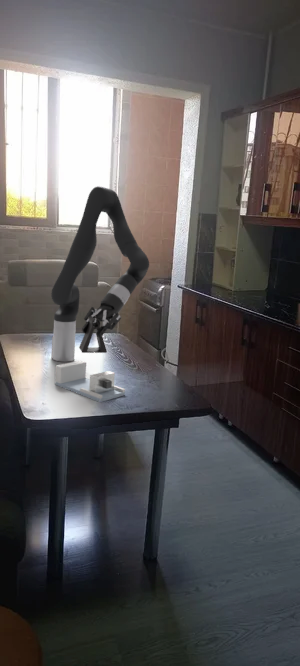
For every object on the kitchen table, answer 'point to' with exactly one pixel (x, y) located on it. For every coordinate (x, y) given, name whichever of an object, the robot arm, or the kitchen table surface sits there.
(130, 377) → the kitchen table surface
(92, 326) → the phone stand
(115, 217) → the robot arm
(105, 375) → the block
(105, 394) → the vise body
